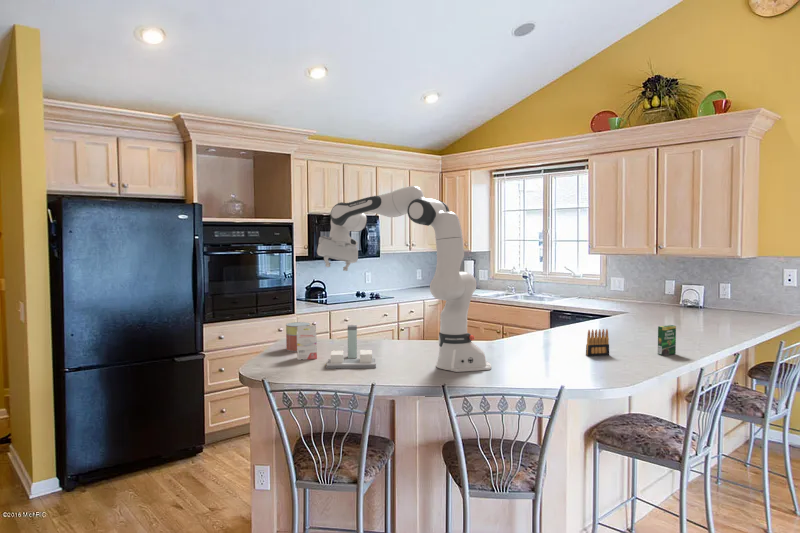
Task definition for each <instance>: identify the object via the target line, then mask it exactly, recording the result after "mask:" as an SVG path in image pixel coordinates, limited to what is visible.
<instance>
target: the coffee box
mask: <svg viewBox="0 0 800 533" xmlns="http://www.w3.org/2000/svg"><path fill="white" fill-rule="evenodd" d="M676 339H677V326H676V325H673V324H669V325H660V326H657V355H658V356H671V355H676V354H677V353H676V352H677V351H676V347H677V342H676V341H677V340H676Z"/></svg>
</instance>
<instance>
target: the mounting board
mask: <svg viewBox="0 0 800 533" xmlns="http://www.w3.org/2000/svg"><path fill="white" fill-rule="evenodd" d="M336 368H341V369H376V368H377V362H376V358H373V350H372V349H360V350H359V358H345V353H344V349H342V350H341V349H337V350H335V349H334V350H331V352H330V358H329V359H328V360H327V363H326V369H327V370H329V369H331V370H332V369H336Z"/></svg>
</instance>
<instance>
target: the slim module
mask: <svg viewBox="0 0 800 533" xmlns="http://www.w3.org/2000/svg"><path fill="white" fill-rule="evenodd" d="M347 359H358V325H357V324H351V325H350V324H348V325H347Z"/></svg>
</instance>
